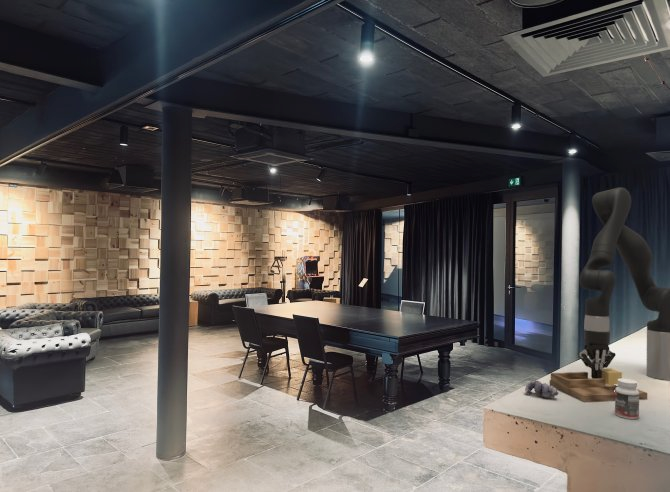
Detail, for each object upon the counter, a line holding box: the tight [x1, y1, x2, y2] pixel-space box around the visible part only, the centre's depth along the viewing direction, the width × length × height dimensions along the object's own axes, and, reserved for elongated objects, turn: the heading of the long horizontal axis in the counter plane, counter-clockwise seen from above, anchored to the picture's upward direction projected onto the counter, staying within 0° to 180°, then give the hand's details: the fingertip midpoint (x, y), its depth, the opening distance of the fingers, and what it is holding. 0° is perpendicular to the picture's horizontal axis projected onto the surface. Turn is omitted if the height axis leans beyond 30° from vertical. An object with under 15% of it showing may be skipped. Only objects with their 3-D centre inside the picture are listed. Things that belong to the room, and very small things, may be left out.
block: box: [602, 368, 623, 385], centre depth 154 cm, size 5×5×4 cm
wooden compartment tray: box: [549, 377, 648, 403], centre depth 150 cm, size 22×17×2 cm
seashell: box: [524, 380, 560, 399], centre depth 145 cm, size 5×5×10 cm
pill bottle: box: [614, 377, 640, 420], centre depth 128 cm, size 6×6×10 cm
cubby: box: [550, 371, 605, 388], centre depth 152 cm, size 14×9×2 cm, turn 99°
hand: (596, 380), depth 154 cm, fingers closed
